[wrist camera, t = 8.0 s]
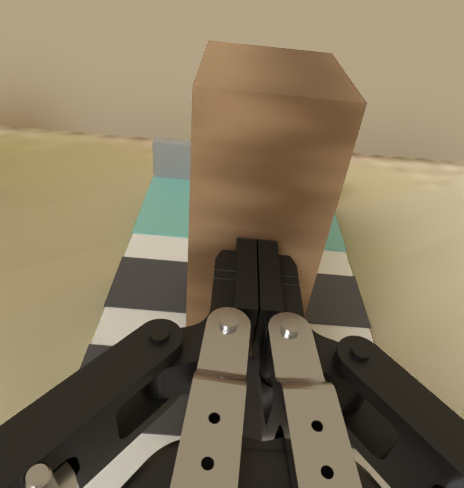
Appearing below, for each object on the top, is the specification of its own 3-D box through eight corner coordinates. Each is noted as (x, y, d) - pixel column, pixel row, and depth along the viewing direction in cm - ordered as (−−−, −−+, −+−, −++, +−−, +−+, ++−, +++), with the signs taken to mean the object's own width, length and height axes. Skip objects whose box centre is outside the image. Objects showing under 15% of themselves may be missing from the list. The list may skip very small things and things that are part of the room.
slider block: (185, 351, 19) (192, 85, 11) (197, 266, 24) (208, 40, 16) (291, 359, 19) (367, 103, 12) (282, 273, 24) (332, 53, 16)
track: (-96, 899, 9) (-215, 957, 6) (155, 187, 34) (154, 136, 31) (521, 920, 9) (666, 983, 7) (322, 203, 34) (335, 154, 32)
